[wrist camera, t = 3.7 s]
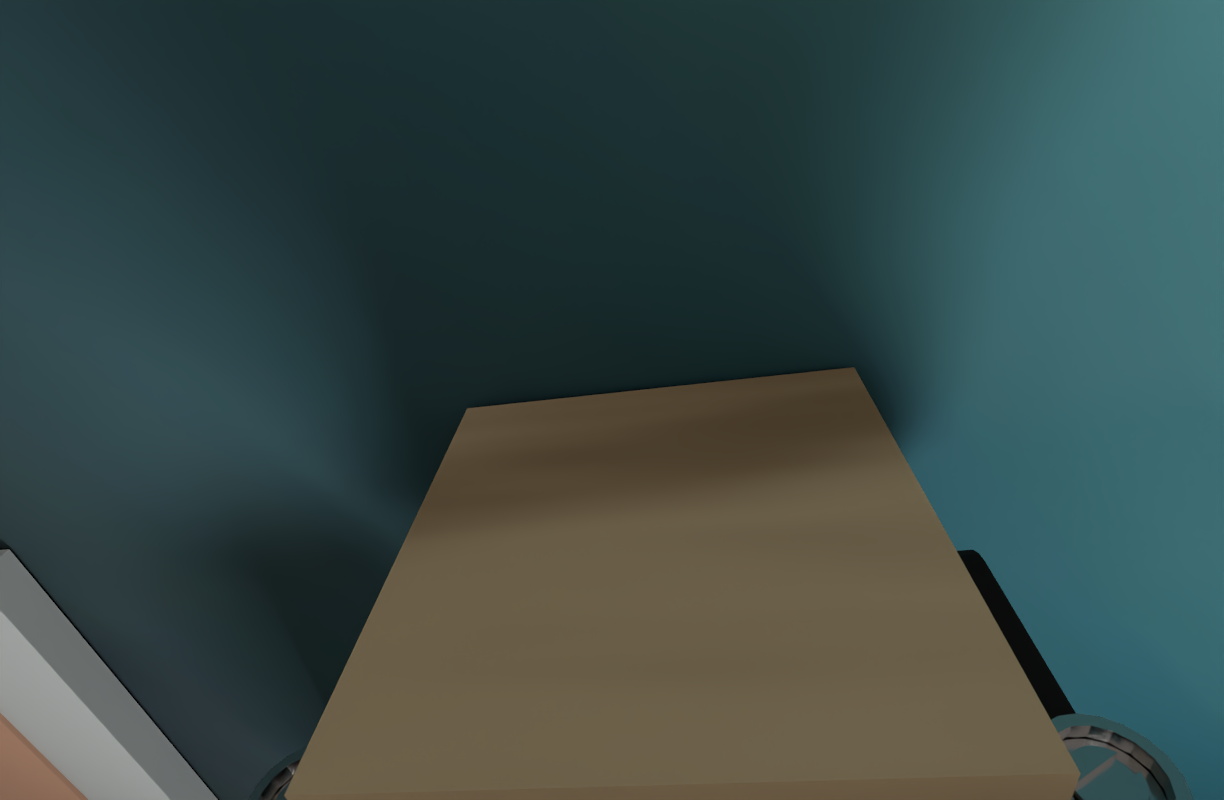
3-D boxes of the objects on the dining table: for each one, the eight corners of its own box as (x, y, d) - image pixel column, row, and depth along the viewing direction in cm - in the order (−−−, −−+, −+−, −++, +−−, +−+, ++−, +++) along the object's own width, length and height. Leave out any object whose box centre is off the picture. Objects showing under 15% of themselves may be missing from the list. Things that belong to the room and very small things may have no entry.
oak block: (467, 408, 10) (284, 794, 5) (854, 367, 10) (1082, 773, 4) (544, 654, 13) (475, 1053, 8) (844, 637, 13) (973, 1066, 8)
